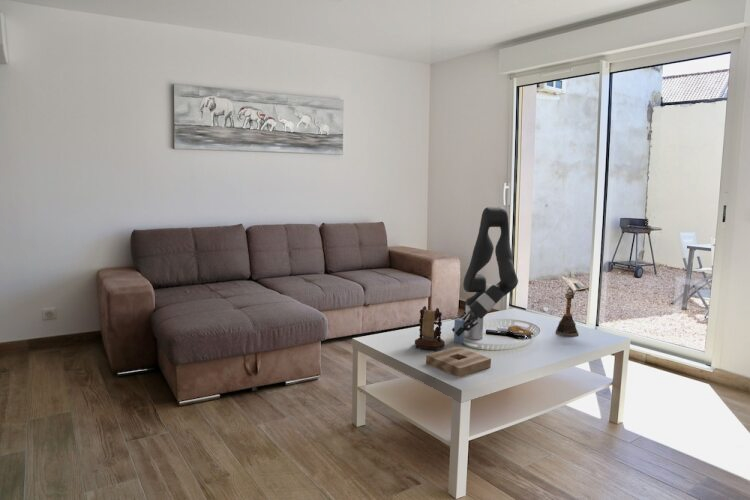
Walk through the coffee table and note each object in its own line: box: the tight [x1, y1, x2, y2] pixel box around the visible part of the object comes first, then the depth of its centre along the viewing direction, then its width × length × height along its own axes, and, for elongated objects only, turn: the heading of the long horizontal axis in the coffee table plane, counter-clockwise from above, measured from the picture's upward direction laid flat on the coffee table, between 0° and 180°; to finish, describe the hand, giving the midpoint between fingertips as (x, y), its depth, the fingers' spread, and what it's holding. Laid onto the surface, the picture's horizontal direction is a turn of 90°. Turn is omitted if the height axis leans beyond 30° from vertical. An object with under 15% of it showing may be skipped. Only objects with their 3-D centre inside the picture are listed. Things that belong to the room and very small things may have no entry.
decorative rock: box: [507, 325, 534, 338], centre depth 278 cm, size 11×4×15 cm
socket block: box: [425, 346, 492, 378], centre depth 230 cm, size 20×20×4 cm
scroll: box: [414, 305, 446, 352], centre depth 254 cm, size 15×15×20 cm
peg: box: [453, 318, 465, 345], centre depth 228 cm, size 4×4×10 cm
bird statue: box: [555, 269, 590, 338], centre depth 277 cm, size 17×13×35 cm
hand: (455, 333), depth 228 cm, fingers closed on peg, 4 cm apart
